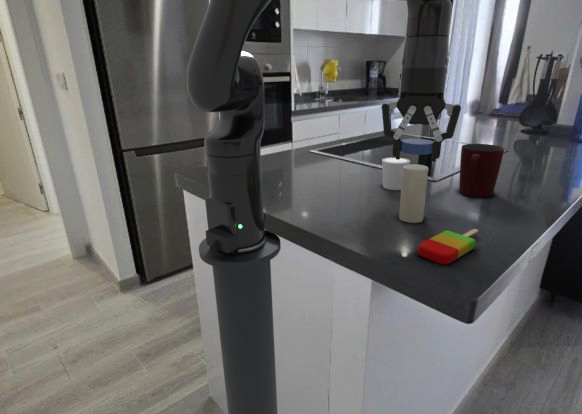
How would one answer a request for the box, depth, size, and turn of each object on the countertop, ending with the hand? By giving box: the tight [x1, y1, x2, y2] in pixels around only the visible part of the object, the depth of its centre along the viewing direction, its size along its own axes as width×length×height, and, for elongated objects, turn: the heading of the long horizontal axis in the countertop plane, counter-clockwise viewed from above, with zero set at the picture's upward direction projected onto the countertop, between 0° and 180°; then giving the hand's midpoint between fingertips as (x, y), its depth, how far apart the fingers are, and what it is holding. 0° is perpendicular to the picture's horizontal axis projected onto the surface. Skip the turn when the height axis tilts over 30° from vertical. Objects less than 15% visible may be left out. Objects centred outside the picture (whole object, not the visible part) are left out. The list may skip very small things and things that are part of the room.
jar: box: [398, 163, 430, 224], centre depth 75 cm, size 5×5×11 cm
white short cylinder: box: [381, 156, 411, 191], centre depth 95 cm, size 7×7×7 cm
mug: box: [458, 143, 505, 199], centre depth 88 cm, size 12×9×11 cm
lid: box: [400, 138, 434, 156], centre depth 72 cm, size 6×6×2 cm
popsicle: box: [417, 228, 479, 265], centre depth 64 cm, size 6×15×2 cm, turn 131°
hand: (415, 159), depth 73 cm, fingers closed on lid, 6 cm apart
